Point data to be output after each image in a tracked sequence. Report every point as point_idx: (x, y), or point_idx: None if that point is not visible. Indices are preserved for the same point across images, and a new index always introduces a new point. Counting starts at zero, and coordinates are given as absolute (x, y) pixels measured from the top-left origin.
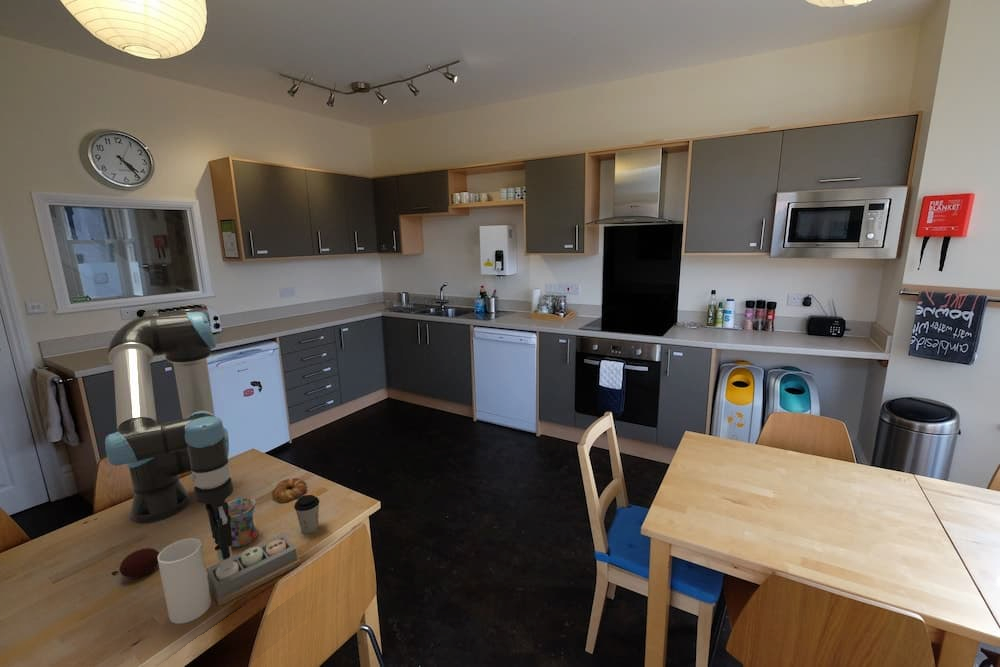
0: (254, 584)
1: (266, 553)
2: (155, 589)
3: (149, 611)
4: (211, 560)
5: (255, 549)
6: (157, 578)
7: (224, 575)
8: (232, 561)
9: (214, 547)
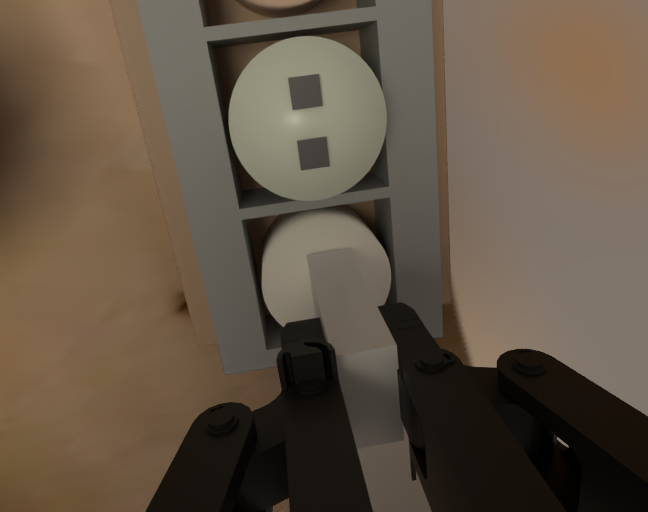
0: (445, 136)
1: (283, 9)
2: (132, 504)
3: (273, 507)
4: (21, 306)
5: (289, 87)
6: (46, 505)
7: (386, 298)
8: (353, 264)
9: (415, 479)
